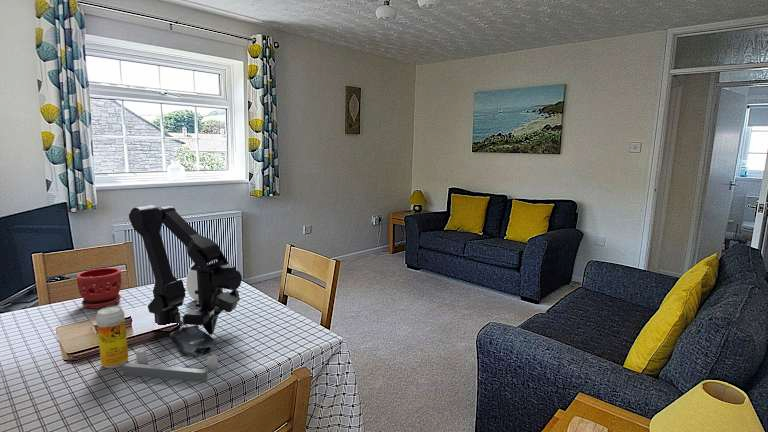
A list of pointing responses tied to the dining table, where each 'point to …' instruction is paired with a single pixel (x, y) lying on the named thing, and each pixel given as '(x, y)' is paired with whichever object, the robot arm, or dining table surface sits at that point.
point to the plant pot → (99, 287)
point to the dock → (168, 369)
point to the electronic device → (192, 340)
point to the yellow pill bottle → (112, 336)
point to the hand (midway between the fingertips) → (211, 334)
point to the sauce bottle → (192, 283)
